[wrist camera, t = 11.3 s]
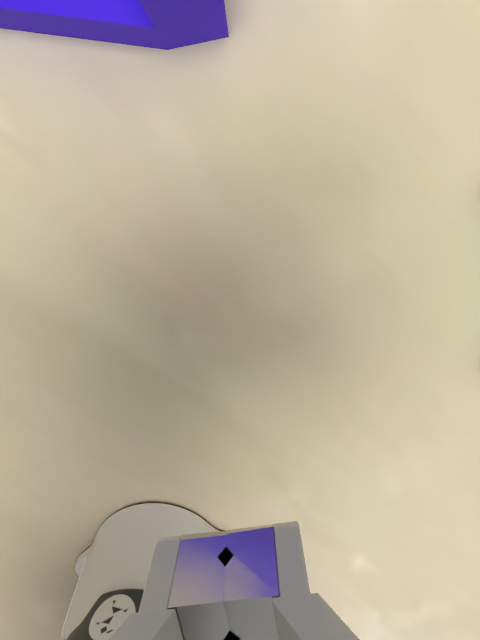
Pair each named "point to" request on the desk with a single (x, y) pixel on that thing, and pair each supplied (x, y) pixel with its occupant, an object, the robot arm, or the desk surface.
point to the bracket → (120, 20)
